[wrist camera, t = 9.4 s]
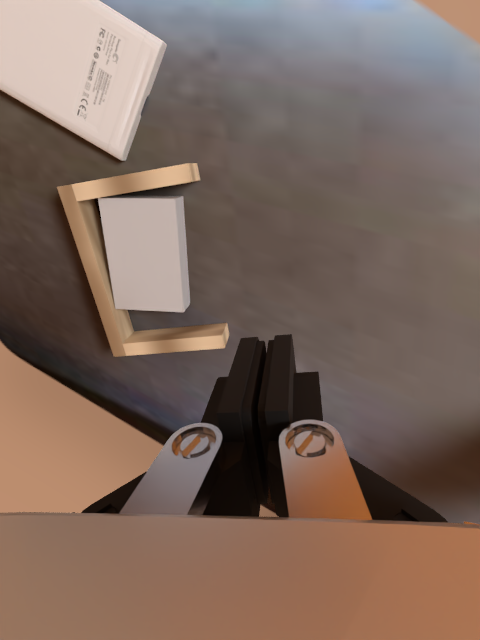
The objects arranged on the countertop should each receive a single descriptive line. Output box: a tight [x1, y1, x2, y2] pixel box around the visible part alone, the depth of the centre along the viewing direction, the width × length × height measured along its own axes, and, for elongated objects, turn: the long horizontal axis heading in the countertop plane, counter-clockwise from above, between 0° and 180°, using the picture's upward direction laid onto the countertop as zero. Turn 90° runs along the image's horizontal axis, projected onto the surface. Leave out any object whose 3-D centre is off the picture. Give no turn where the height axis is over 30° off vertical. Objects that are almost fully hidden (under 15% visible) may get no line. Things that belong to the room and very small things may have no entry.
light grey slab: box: [98, 196, 190, 312], centre depth 29 cm, size 6×9×2 cm, turn 0°
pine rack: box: [57, 163, 229, 357], centre depth 29 cm, size 10×14×2 cm
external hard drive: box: [0, 0, 167, 161], centre depth 25 cm, size 2×8×12 cm
